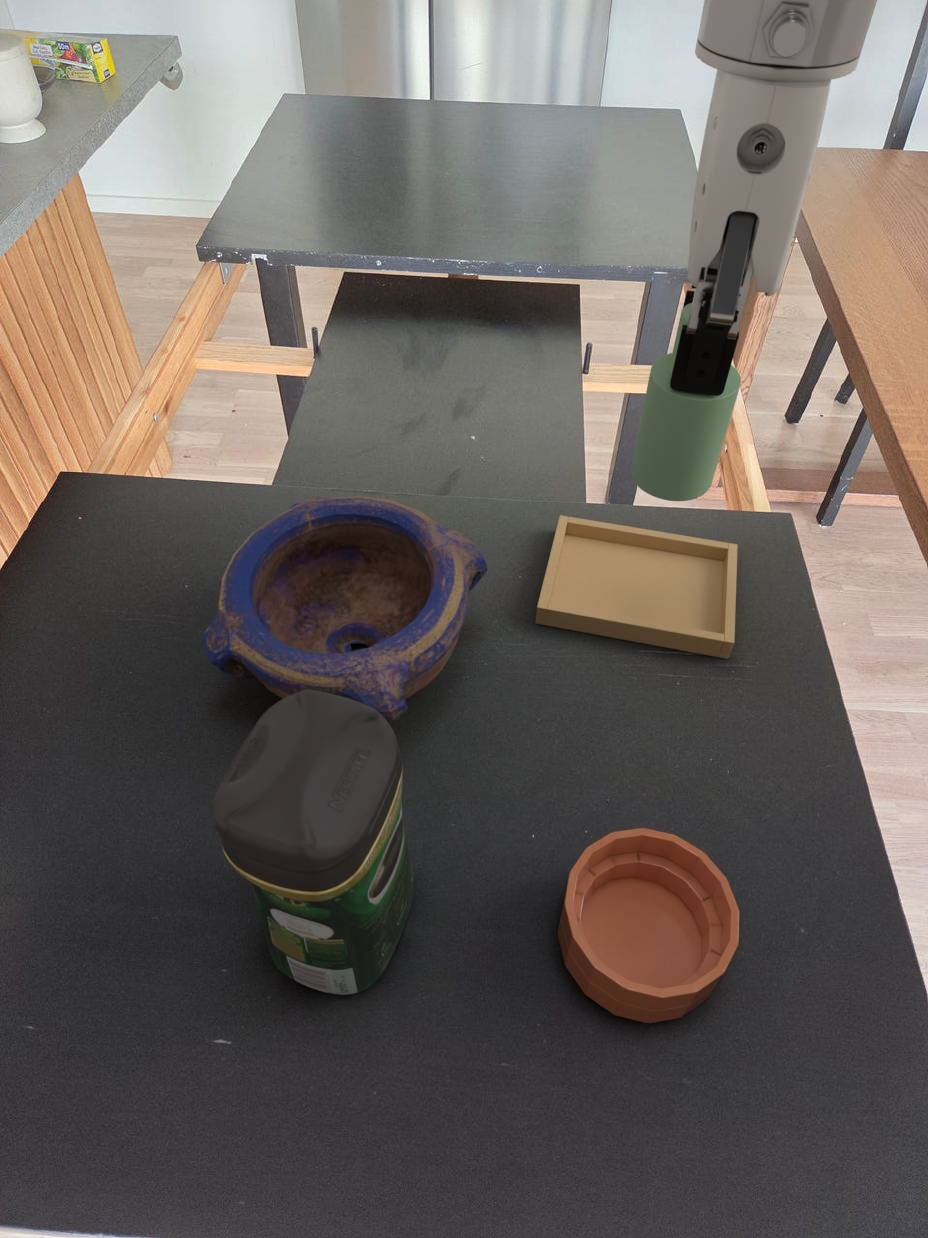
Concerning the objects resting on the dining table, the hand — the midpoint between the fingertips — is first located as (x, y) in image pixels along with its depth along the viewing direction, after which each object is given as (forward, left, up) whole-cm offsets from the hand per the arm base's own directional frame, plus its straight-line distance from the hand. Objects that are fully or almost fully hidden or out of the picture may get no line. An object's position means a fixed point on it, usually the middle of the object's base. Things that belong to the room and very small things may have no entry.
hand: (697, 369), depth 53 cm
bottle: (0, 0, -8) cm, 8 cm away
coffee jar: (+15, +30, -23) cm, 41 cm away
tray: (0, -3, -23) cm, 23 cm away
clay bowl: (-3, +27, -23) cm, 36 cm away
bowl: (+21, +10, -23) cm, 33 cm away
